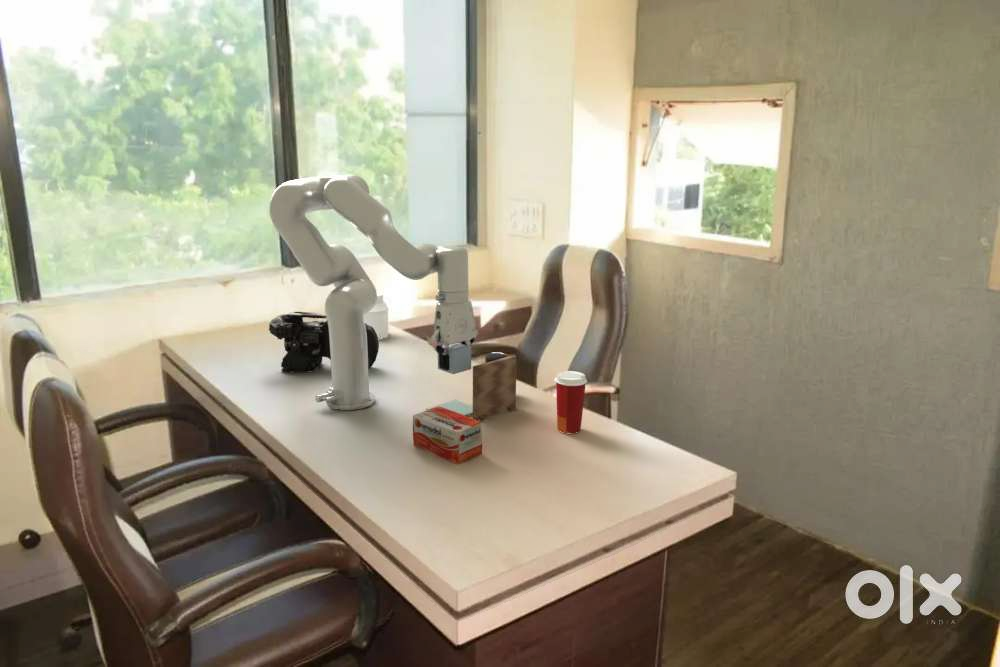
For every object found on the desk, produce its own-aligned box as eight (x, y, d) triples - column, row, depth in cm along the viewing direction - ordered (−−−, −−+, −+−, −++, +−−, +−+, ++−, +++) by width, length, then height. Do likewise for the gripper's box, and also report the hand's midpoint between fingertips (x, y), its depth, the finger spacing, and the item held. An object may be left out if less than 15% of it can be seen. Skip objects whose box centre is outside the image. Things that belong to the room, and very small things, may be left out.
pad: (451, 421, 191) (451, 419, 191) (426, 410, 198) (426, 408, 198) (480, 411, 198) (480, 409, 198) (455, 401, 205) (455, 399, 205)
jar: (351, 334, 267) (350, 292, 263) (376, 330, 273) (374, 289, 268) (367, 342, 258) (366, 298, 254) (392, 337, 264) (391, 295, 260)
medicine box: (412, 446, 177) (411, 414, 175) (438, 436, 183) (437, 404, 180) (458, 466, 167) (458, 432, 165) (484, 454, 173) (484, 421, 171)
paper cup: (587, 426, 189) (590, 372, 186) (580, 437, 182) (583, 382, 179) (557, 421, 192) (559, 368, 188) (548, 433, 185) (550, 378, 181)
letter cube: (453, 374, 191) (452, 350, 189) (437, 368, 195) (437, 345, 193) (471, 369, 195) (471, 345, 193) (455, 363, 199) (455, 341, 197)
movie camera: (263, 377, 220) (262, 317, 216) (281, 361, 237) (280, 305, 233) (372, 382, 220) (373, 323, 216) (381, 366, 238) (382, 310, 234)
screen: (479, 422, 191) (479, 368, 187) (468, 417, 194) (469, 364, 190) (519, 408, 200) (520, 357, 197) (508, 404, 203) (509, 354, 199)
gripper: (435, 304, 181) (437, 377, 186) (489, 293, 193) (489, 362, 198) (416, 299, 187) (418, 370, 191) (469, 289, 198) (470, 356, 203)
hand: (454, 365), depth 194 cm, fingers closed on letter cube, 6 cm apart
